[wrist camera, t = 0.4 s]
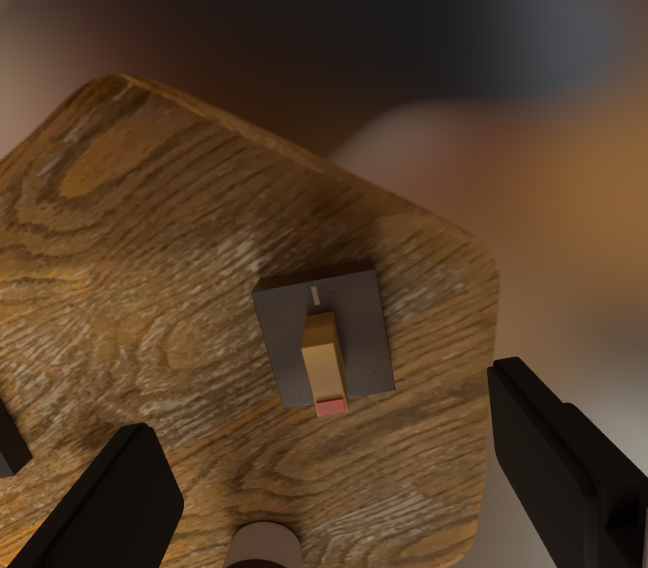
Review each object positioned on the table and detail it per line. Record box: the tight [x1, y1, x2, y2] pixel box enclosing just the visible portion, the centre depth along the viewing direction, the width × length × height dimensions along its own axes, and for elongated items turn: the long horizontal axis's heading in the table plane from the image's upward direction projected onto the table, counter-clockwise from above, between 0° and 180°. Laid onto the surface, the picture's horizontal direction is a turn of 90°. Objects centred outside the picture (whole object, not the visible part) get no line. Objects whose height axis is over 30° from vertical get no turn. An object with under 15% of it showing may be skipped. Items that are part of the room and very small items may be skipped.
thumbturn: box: [301, 311, 348, 417], centre depth 25 cm, size 5×2×5 cm, turn 11°
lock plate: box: [251, 259, 396, 408], centre depth 29 cm, size 10×9×3 cm
